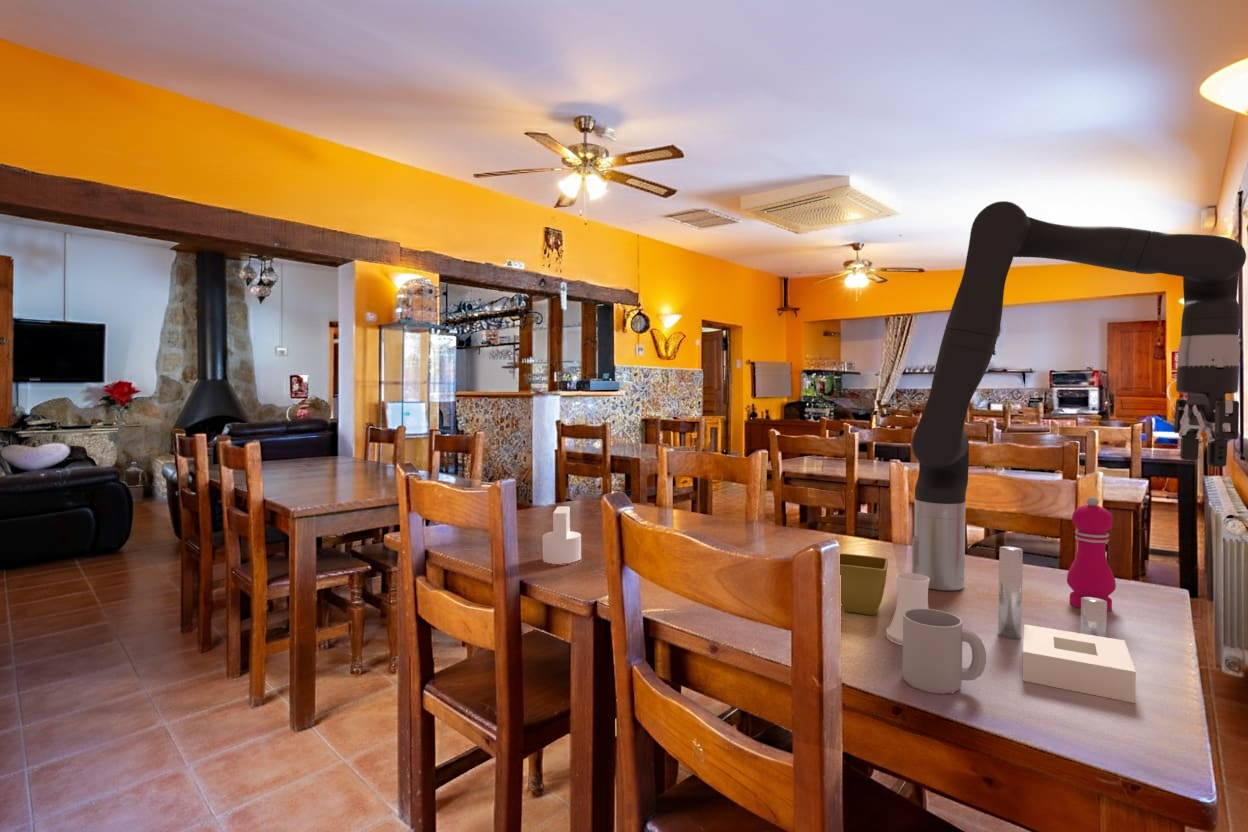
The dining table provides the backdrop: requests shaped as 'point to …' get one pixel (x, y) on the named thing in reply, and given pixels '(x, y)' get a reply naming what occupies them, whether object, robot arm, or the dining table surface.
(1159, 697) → the dining table surface
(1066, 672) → the socket block
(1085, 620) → the short pin
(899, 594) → the vase
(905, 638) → the cup
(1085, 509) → the pepper mill
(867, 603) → the flower pot
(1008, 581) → the tall pin
